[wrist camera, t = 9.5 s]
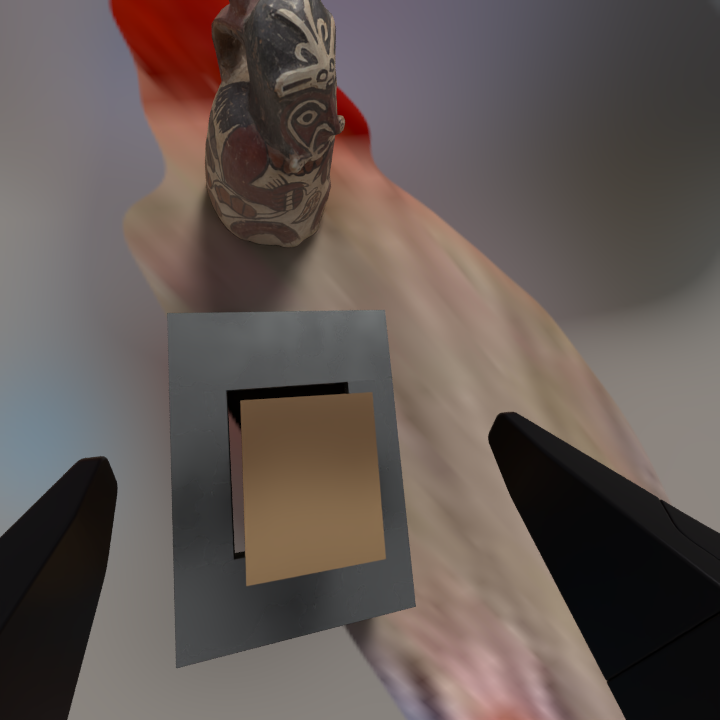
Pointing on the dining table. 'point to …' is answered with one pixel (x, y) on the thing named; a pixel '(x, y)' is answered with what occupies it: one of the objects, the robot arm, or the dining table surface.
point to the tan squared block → (310, 485)
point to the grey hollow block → (214, 489)
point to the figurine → (273, 119)
